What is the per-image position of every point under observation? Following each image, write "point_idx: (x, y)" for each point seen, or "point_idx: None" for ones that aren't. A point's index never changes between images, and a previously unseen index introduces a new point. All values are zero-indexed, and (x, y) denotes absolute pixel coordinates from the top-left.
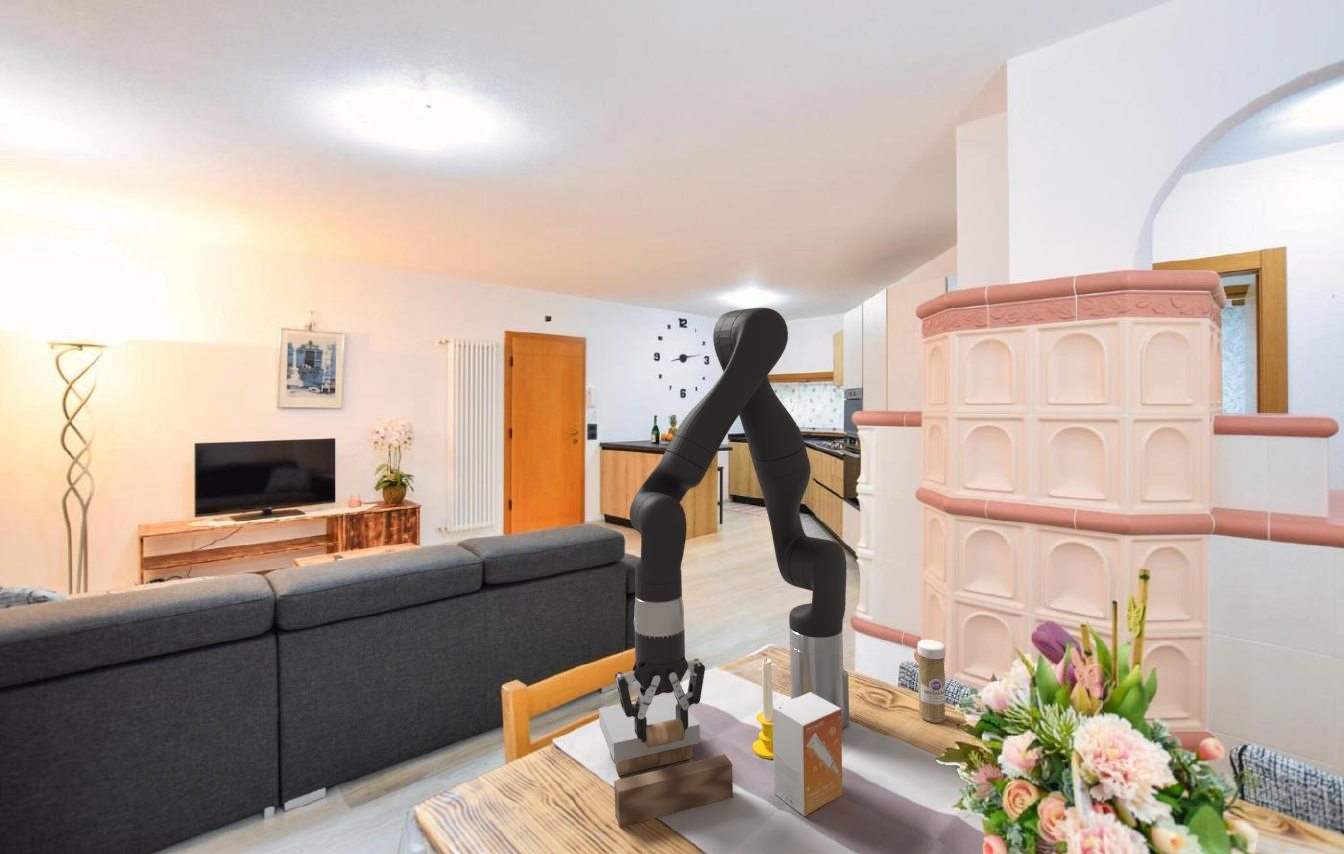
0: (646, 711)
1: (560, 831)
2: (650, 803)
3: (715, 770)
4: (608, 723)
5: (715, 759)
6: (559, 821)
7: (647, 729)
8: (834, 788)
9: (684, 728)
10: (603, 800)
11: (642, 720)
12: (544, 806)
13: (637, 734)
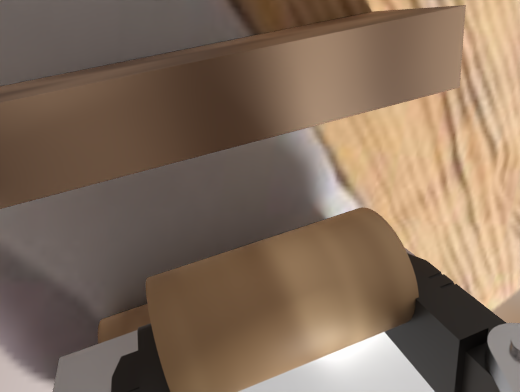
0: (511, 383)
1: (509, 33)
2: (296, 31)
3: None
4: (427, 384)
5: None
6: (502, 75)
7: (412, 277)
8: None
9: (142, 347)
10: (391, 145)
11: (479, 321)
12: (516, 139)
13: (432, 266)
